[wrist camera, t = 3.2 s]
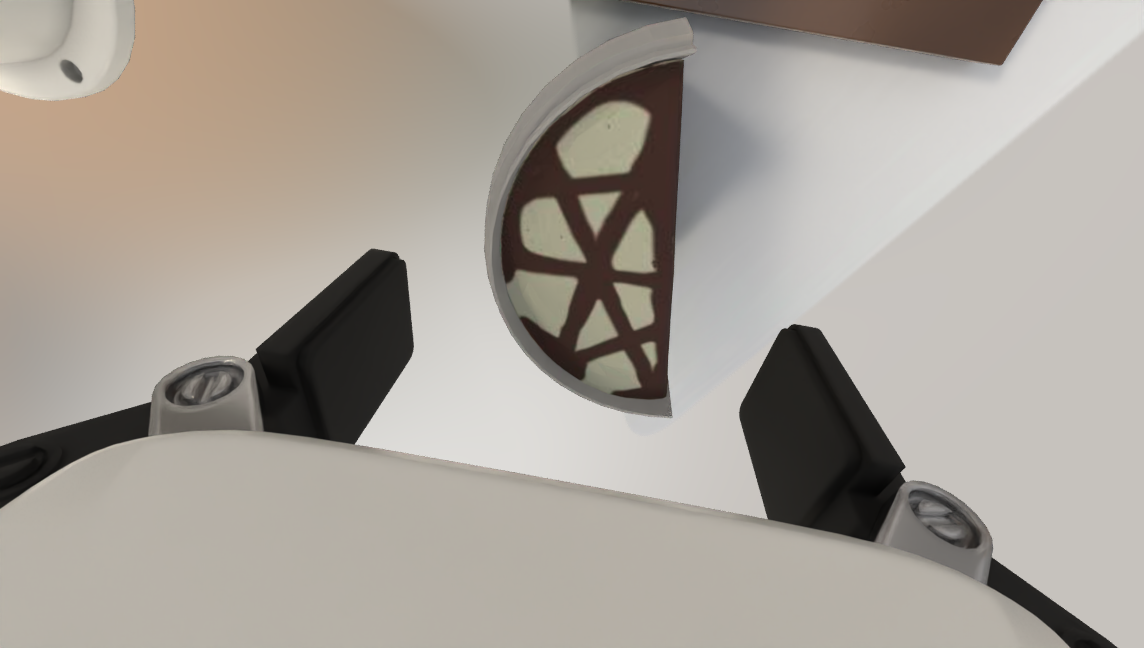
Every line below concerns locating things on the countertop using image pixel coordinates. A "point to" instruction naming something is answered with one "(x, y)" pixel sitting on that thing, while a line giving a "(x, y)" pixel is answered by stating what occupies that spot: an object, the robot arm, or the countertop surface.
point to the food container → (595, 220)
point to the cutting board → (886, 22)
